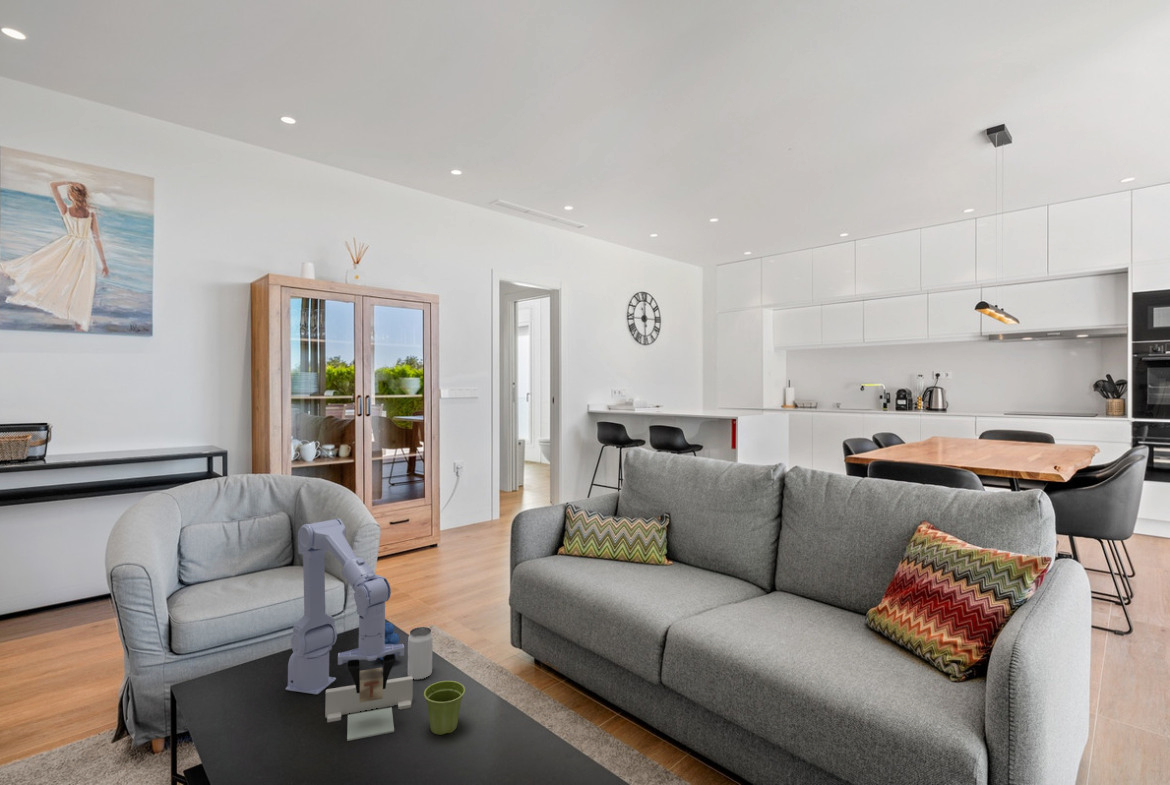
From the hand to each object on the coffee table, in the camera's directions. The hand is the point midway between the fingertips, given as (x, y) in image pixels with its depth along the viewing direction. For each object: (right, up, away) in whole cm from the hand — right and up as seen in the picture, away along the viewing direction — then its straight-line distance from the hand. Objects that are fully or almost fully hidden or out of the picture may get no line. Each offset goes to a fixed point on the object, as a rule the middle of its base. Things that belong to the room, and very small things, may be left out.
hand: (371, 689), depth 137 cm
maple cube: (0, -2, 0) cm, 2 cm away
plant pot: (+17, -9, 0) cm, 19 cm away
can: (+5, -8, +24) cm, 25 cm away
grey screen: (-3, -8, +7) cm, 11 cm away
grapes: (-8, -8, +30) cm, 32 cm away
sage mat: (0, -8, 0) cm, 8 cm away
